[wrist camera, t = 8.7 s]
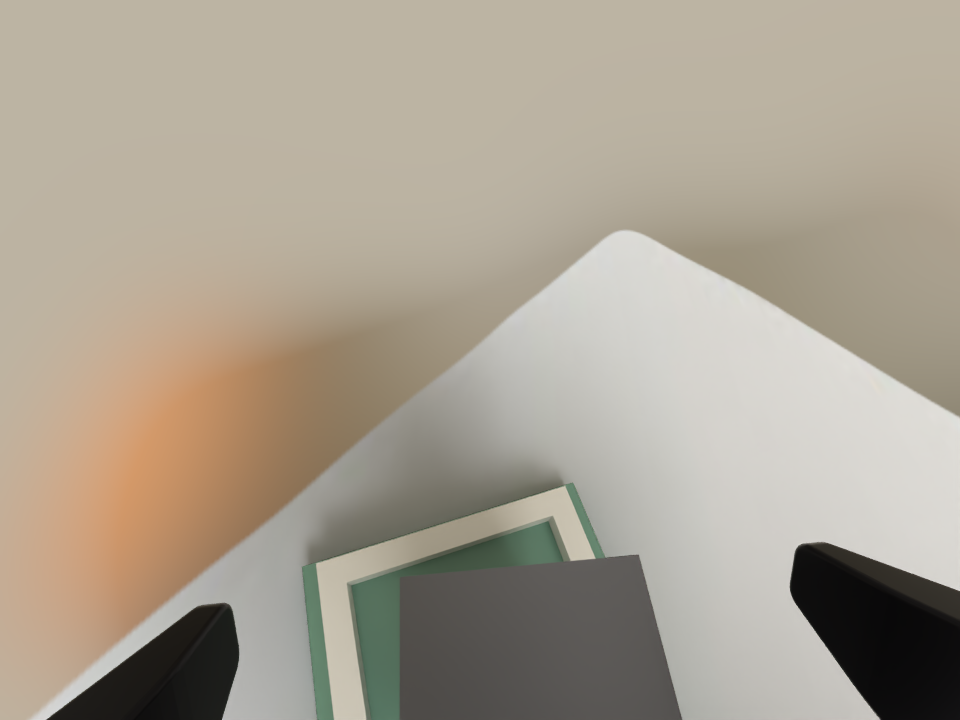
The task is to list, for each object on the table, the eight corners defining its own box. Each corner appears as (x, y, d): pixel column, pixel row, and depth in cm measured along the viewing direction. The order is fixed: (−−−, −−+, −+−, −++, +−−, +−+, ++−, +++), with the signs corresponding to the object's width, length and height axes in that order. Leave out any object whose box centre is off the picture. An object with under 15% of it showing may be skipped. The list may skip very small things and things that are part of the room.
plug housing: (556, 730, 16) (717, 855, 6) (427, 747, 15) (398, 910, 6) (537, 601, 18) (638, 554, 8) (424, 613, 17) (400, 576, 8)
